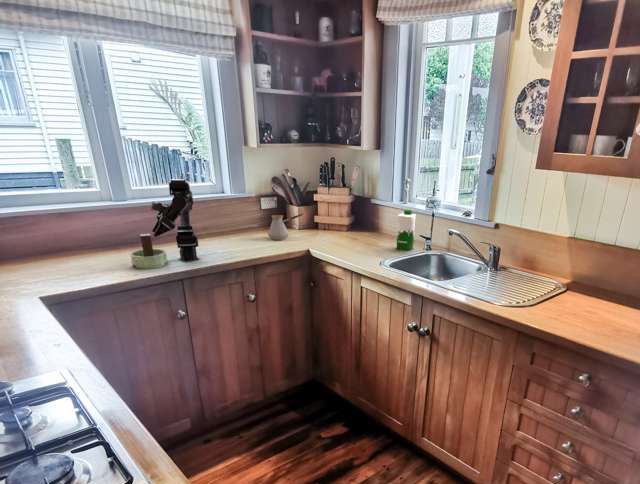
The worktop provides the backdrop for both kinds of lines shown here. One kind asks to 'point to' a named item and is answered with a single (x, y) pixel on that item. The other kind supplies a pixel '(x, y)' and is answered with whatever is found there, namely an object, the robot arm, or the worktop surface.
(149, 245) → the brown wooden block
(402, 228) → the milk carton
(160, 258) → the bowl
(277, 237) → the coffee pot
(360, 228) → the worktop surface
